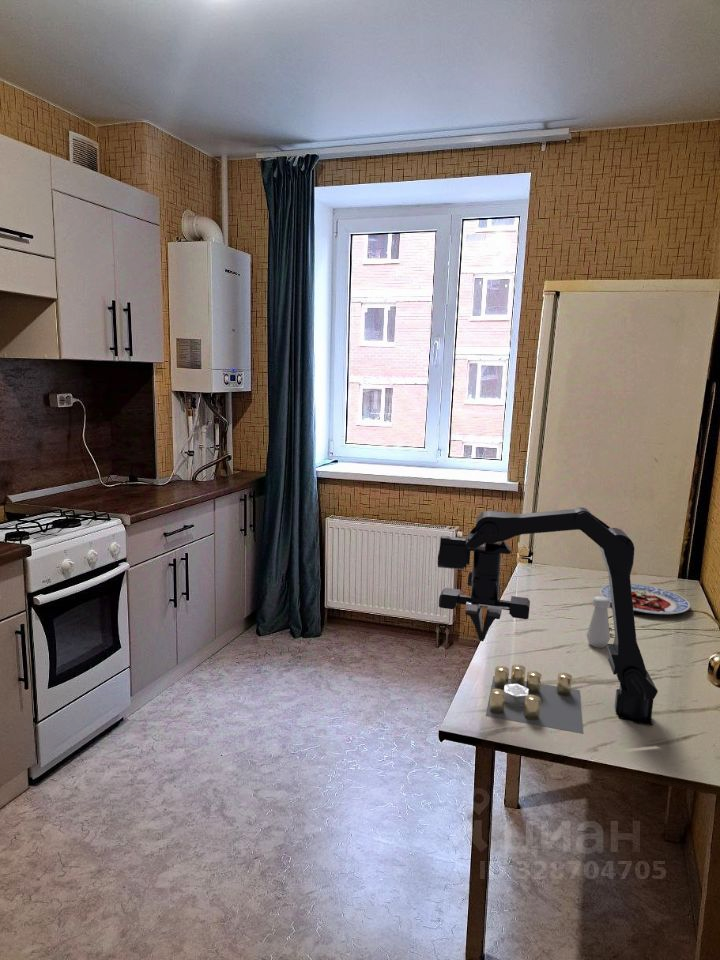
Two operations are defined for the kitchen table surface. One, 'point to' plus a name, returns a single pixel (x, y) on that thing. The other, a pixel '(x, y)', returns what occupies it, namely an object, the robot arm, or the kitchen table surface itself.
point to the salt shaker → (599, 623)
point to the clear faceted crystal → (515, 694)
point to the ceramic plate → (653, 600)
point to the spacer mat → (547, 709)
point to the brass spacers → (532, 684)
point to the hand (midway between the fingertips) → (481, 640)
